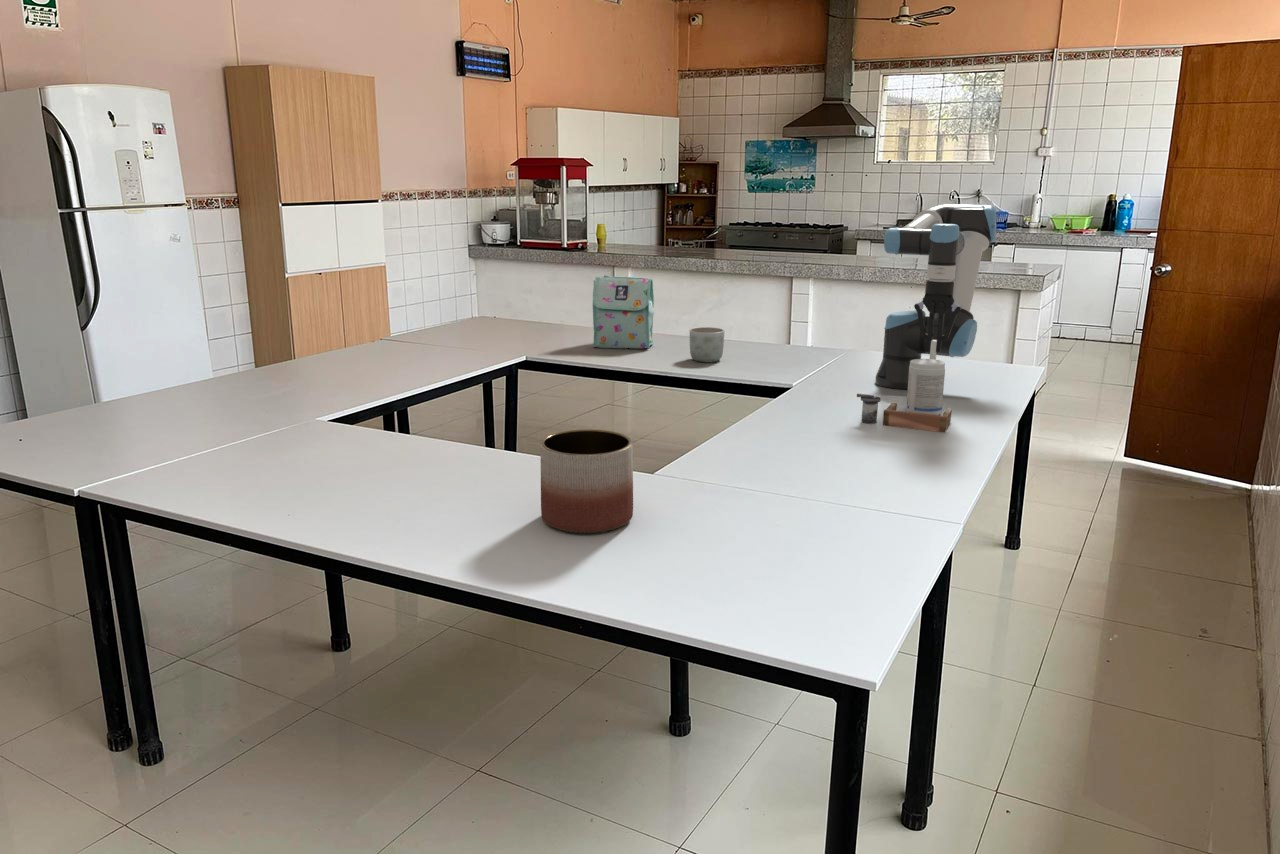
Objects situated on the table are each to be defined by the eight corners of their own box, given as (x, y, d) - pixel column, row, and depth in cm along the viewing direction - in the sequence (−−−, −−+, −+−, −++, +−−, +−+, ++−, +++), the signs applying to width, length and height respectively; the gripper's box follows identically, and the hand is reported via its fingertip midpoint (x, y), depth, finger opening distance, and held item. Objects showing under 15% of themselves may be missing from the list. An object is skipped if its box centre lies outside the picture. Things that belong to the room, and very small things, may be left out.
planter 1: (558, 542, 166) (556, 460, 162) (529, 510, 182) (527, 434, 177) (647, 528, 173) (648, 448, 169) (612, 498, 189) (612, 425, 184)
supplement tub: (948, 414, 255) (953, 362, 251) (925, 419, 250) (930, 366, 246) (920, 407, 263) (925, 357, 259) (898, 411, 258) (902, 360, 254)
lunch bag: (589, 349, 346) (589, 277, 338) (598, 341, 361) (598, 272, 354) (649, 351, 342) (650, 279, 335) (656, 343, 358) (656, 274, 350)
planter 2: (700, 355, 335) (701, 325, 332) (730, 359, 328) (731, 329, 325) (682, 360, 325) (682, 330, 322) (711, 365, 318) (712, 334, 316)
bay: (890, 414, 255) (891, 400, 254) (950, 421, 248) (951, 407, 247) (882, 425, 244) (883, 410, 243) (945, 432, 238) (946, 417, 237)
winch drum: (857, 417, 251) (859, 391, 249) (880, 420, 249) (882, 394, 247) (853, 422, 247) (855, 395, 245) (876, 425, 244) (879, 398, 242)
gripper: (914, 280, 256) (907, 363, 262) (963, 282, 251) (954, 367, 257) (918, 277, 263) (911, 358, 269) (966, 280, 257) (957, 362, 264)
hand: (932, 362), depth 263 cm, fingers closed
